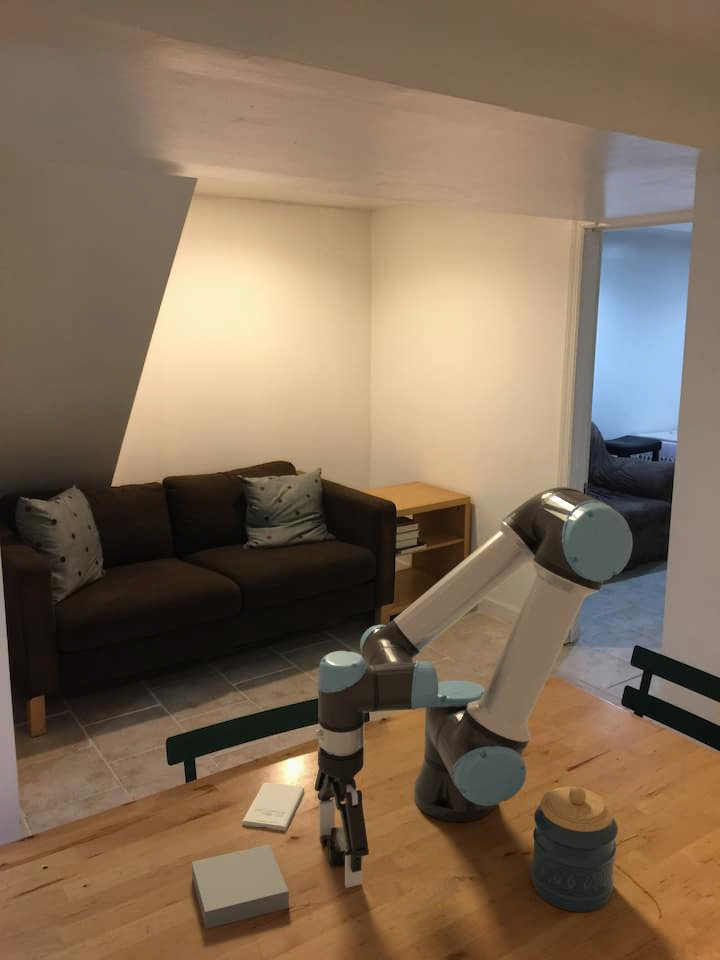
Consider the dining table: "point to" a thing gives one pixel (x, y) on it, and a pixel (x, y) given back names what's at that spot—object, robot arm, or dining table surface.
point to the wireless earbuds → (336, 846)
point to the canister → (574, 849)
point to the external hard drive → (274, 806)
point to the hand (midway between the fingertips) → (339, 858)
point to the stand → (239, 886)
